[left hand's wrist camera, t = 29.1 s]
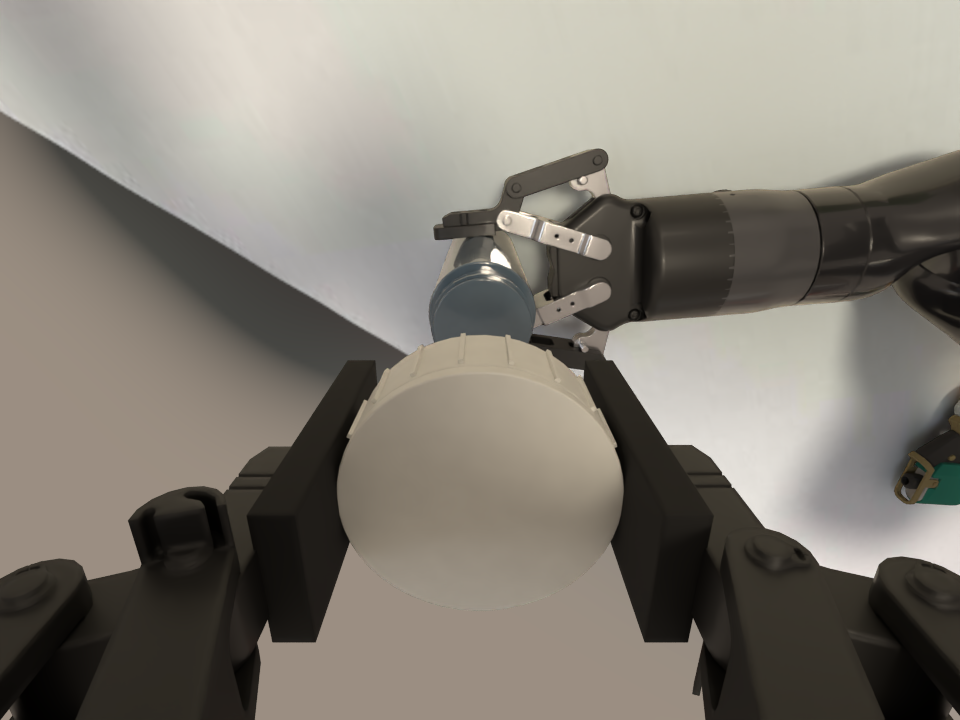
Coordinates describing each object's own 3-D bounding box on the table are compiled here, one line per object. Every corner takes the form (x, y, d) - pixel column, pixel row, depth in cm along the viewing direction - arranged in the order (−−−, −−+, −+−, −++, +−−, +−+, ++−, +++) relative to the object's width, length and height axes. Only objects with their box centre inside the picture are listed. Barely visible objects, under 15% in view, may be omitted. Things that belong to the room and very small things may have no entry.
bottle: (437, 241, 38) (403, 301, 21) (498, 210, 37) (511, 249, 20) (467, 300, 39) (456, 398, 23) (526, 272, 38) (558, 353, 22)
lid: (588, 548, 13) (607, 618, 11) (362, 541, 13) (341, 610, 11) (619, 336, 11) (650, 375, 9) (349, 326, 11) (321, 363, 9)
